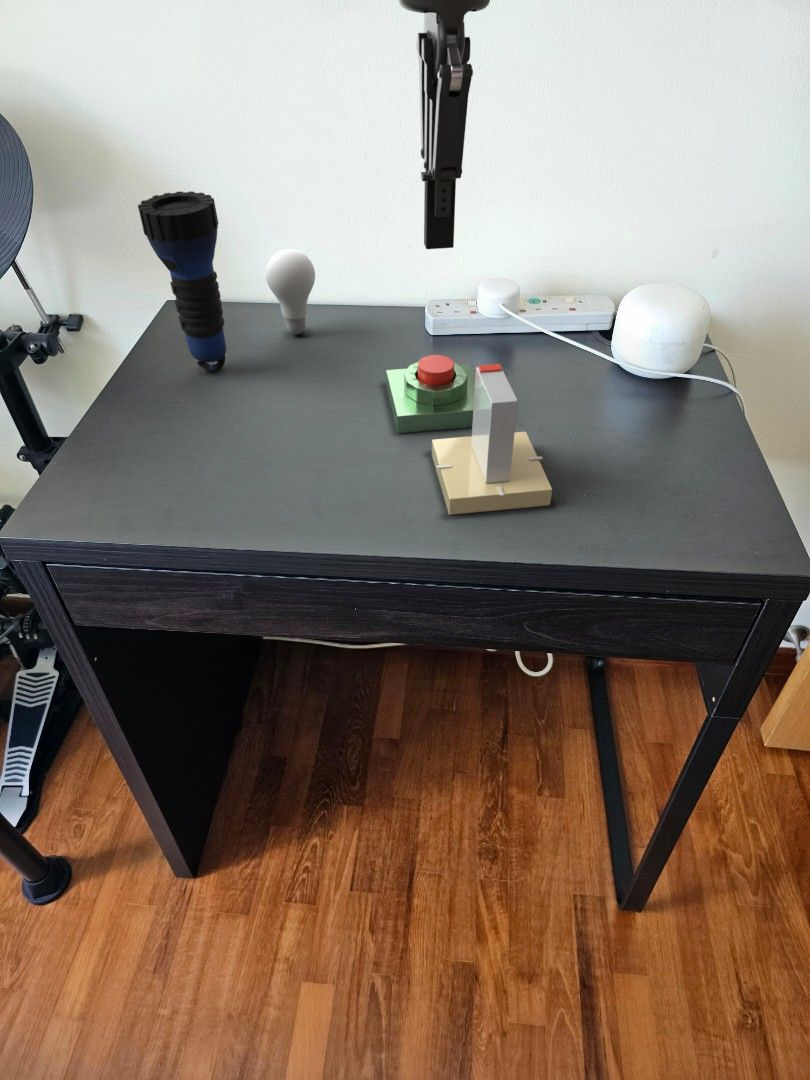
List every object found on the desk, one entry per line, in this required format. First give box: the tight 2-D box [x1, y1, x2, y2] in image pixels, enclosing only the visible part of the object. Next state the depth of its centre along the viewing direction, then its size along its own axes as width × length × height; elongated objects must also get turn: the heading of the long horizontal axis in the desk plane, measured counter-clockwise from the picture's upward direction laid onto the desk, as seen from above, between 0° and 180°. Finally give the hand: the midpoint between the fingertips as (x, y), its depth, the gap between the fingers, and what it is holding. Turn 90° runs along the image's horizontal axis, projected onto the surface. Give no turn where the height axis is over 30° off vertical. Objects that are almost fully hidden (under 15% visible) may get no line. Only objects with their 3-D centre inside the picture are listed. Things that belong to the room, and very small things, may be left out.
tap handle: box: [471, 363, 519, 483], centre depth 75 cm, size 6×2×9 cm, turn 9°
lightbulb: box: [265, 248, 316, 336], centre depth 100 cm, size 6×6×11 cm
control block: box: [385, 361, 475, 434], centre depth 89 cm, size 10×10×4 cm
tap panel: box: [431, 431, 553, 516], centre depth 79 cm, size 11×11×2 cm
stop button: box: [417, 354, 454, 386], centre depth 87 cm, size 4×4×2 cm
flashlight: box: [137, 190, 227, 372], centre depth 90 cm, size 8×8×20 cm
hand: (438, 245), depth 78 cm, fingers closed
